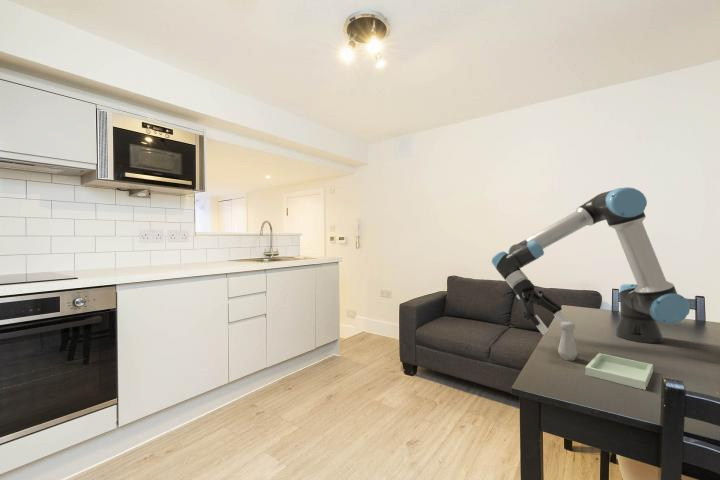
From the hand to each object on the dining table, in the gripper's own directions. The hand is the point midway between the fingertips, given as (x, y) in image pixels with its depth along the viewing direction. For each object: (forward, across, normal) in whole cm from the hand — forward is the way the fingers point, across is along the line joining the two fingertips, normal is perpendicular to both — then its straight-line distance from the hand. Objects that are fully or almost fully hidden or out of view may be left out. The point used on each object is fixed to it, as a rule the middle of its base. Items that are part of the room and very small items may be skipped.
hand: (557, 330), depth 114 cm
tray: (+19, -2, +6) cm, 20 cm away
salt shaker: (+9, -1, -5) cm, 10 cm away
